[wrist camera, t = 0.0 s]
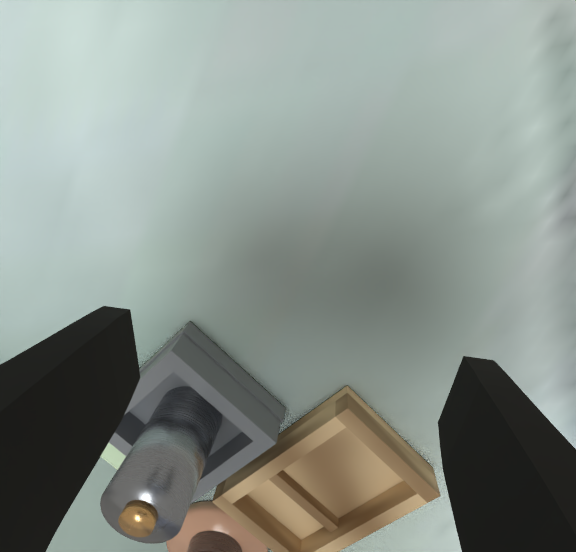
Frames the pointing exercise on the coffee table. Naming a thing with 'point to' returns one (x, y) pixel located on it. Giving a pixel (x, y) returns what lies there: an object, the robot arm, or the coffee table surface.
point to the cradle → (216, 390)
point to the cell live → (162, 468)
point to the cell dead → (213, 542)
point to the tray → (328, 480)
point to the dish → (212, 528)
